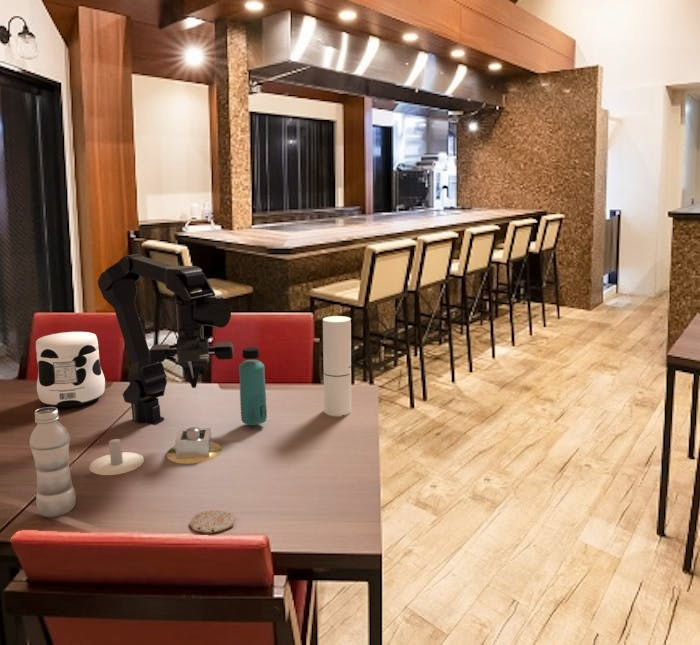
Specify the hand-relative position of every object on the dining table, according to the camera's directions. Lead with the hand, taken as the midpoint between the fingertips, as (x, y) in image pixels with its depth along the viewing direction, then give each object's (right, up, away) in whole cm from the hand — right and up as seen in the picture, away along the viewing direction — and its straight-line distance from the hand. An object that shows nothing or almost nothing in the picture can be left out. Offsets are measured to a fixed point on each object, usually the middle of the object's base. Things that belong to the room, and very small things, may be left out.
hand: (194, 387), depth 148 cm
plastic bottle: (-18, -20, -31) cm, 41 cm away
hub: (+2, -14, -7) cm, 16 cm away
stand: (-13, -16, -12) cm, 24 cm away
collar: (+2, -14, -7) cm, 15 cm away
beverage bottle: (+13, -11, +10) cm, 19 cm away
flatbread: (+12, -21, -35) cm, 42 cm away
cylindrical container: (+33, -9, +19) cm, 39 cm away
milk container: (-41, -7, +28) cm, 50 cm away
